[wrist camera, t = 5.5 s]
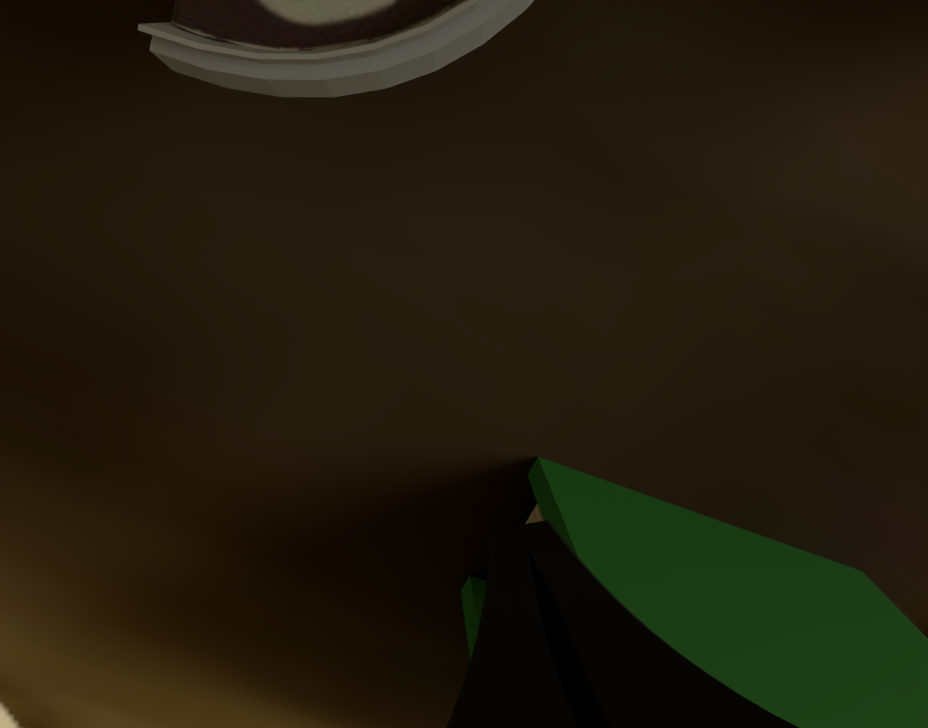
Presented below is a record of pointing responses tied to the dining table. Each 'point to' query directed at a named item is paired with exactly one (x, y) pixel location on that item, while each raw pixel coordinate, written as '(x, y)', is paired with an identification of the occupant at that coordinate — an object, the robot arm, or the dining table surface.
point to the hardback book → (740, 605)
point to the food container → (323, 41)
